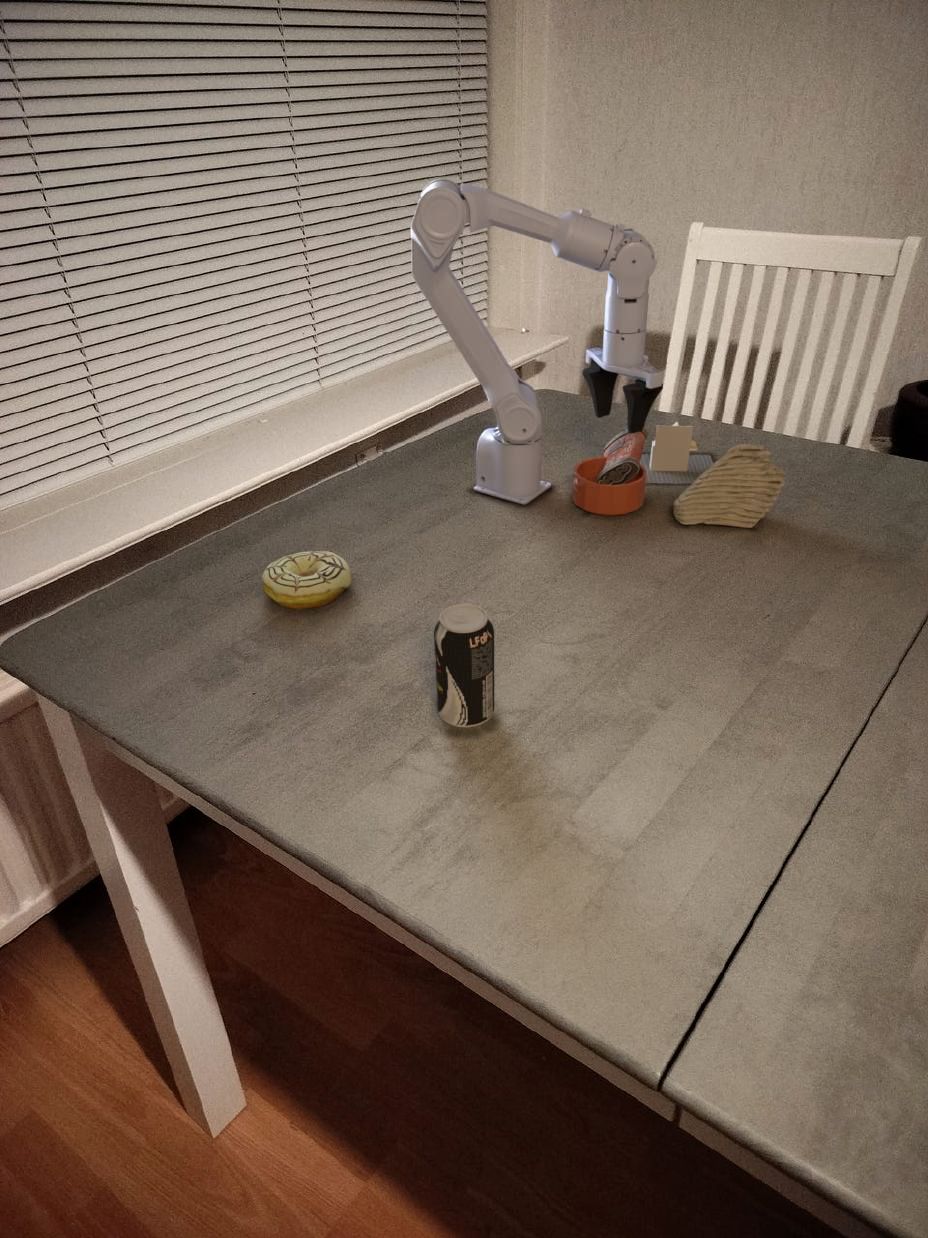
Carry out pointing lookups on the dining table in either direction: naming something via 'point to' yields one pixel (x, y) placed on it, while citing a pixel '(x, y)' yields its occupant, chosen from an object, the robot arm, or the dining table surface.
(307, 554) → the decorated donut
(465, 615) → the beverage can
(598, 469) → the bowl
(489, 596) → the dining table surface
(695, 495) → the fossil tooth
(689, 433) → the architectural model
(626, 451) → the lighter
